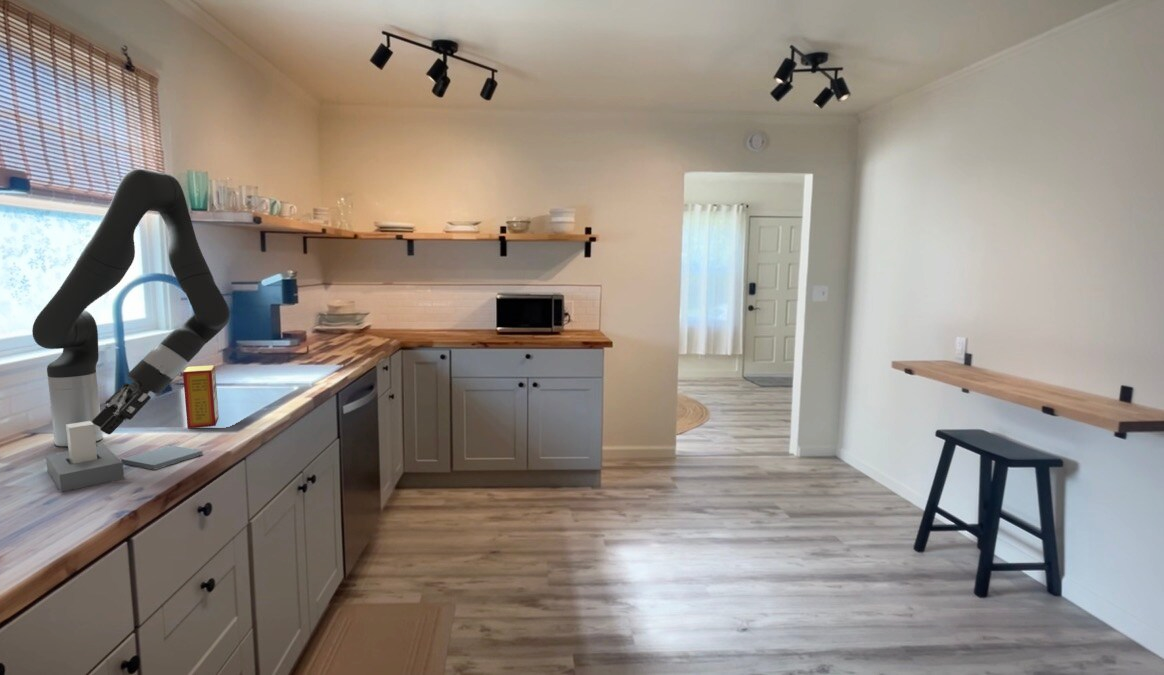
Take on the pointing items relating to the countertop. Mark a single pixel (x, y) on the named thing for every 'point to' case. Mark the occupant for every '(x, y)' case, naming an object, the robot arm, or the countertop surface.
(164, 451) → the mat
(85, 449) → the tall cream white pillar
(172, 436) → the countertop surface
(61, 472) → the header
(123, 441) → the countertop surface
